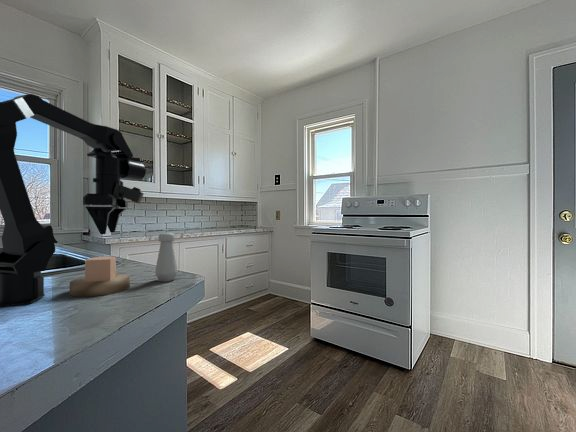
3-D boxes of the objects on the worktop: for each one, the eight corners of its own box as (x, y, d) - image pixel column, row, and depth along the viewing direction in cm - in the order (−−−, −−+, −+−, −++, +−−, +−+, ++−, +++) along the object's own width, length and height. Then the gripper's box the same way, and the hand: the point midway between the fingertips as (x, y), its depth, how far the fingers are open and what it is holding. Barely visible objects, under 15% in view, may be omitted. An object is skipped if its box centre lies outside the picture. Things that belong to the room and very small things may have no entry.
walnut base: (59, 298, 60) (59, 286, 60) (80, 285, 71) (80, 275, 71) (123, 293, 64) (123, 282, 64) (134, 282, 75) (134, 272, 75)
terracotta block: (85, 282, 64) (85, 260, 64) (92, 277, 69) (92, 257, 69) (110, 280, 66) (110, 259, 66) (115, 276, 71) (115, 256, 71)
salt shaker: (172, 282, 75) (172, 233, 75) (151, 282, 75) (151, 233, 75) (181, 277, 81) (181, 232, 81) (161, 277, 81) (161, 232, 81)
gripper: (134, 172, 71) (134, 234, 70) (146, 181, 88) (146, 231, 88) (82, 169, 67) (82, 235, 67) (105, 180, 85) (104, 231, 84)
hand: (108, 233), depth 77 cm, fingers open, 9 cm apart
